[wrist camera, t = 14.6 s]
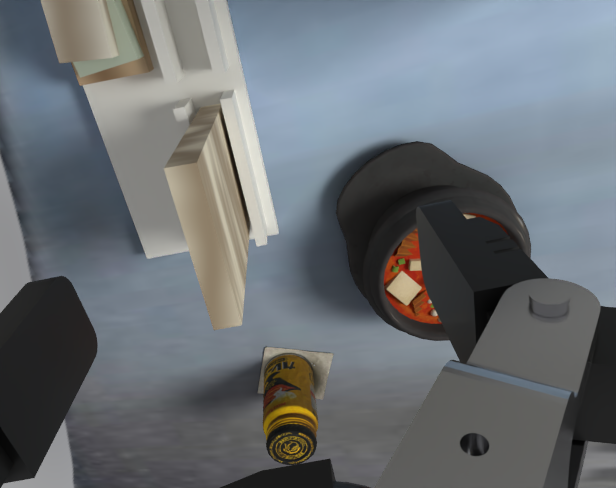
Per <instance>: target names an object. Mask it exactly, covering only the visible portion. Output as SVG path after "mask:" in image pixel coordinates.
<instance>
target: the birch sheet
mask: <svg viewBox="0 0 616 488" xmlns="http://www.w3.org/2000/svg"><path fill="white" fill-rule="evenodd" d="M164 171H165V174H166V178H167V181H168V184H169V187H170V191H171V194H172V197H173V200H174V203H175V207H176V210H177V213H178V216H179V220H180V223H181V226H182V229H183V232H184V236H185V239H186V242H187V245H188V248H189V252H190V255H191V258H192V261H193V265H194V268H195V271H196V274H197V277H198V281H199V284H200V287H201V290H202V294H203V297H204V300H205V303H206V306H207V310H208V313H209V316H210V319H211V323H212V326H213V329H214V330H217V329H223V328H229V327H234V326H240V325H242V317H243V305H244V293H245V281H246V269H247V257H248V245H249V233H250V217H249V214H248V210H247V206H246V202H245V198H244V194H243V190H242V186H241V182H240V178H239V174H238V170H237V166H236V162H235V158H234V154H233V150H232V146H231V142H230V138H229V134H228V130H227V126H226V122H225V119H224V115H223V111H222V107H221V103H220V104H215V105H209V106H204V107H201V108H200V109H199V111H198V112H197V114H196V116H195V117H194V119H193V121H192V122H191V124H190V126H189V127H188V129H187V131H186V132H185V134H184V136H183V137H182V139H181V141H180V142H179V144H178V146H177V147H176V149H175V151H174V152H173V154H172V155H171V157H170V159H169V160H168V162H167V164H166V165H165V167H164Z"/></svg>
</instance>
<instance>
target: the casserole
mask: <svg viewBox="0 0 616 488" xmlns="http://www.w3.org/2000/svg"><path fill="white" fill-rule="evenodd" d="M449 200H451V201H452V202H453V203H454V204H455V205H456V206H457V208H458V209H459V210H460V211H461V212H462V214H463V215H464V216H465V217H466V219H470V218H475V217H482V218H484V219H486V220H488V221H491V222H493V223H495V224H498V225H499V226H500V227H501V228H502V229H503V230H504V231H505V232H506V233H507V234H508V235H509V237H510V239H512V240H513V241H514V242H515V243H516V244H517V245H518V246H519V249H522V250H523V252H524V253H525V254H526V255H527V256H528V257H529V258H530V257H531V243H530V238H529V233H528V230H527V228H526V225H525V223H524V221H523V219H522V217H521V216H520V215H519V214H518V213H517V211H516V208H515V206H514V204H513V202H512V200H511V198H510V196H509V195H508V194H507V192H506V191H505V190H504V189H503V188H502V186H501V185H500V184H498V183H497V182H496V181H494V180H493V179H492V178H491V177H489V176H488V175H486V174H483V173H481V172H479V171H476V170H474V169H472V168H470V167H467V166H465V165H463V164H460V163H458V162H457V161H455V160H454V159H453V158H451V157H450V156H449V155H447V154H446V153H445V152H443V151H442V150H440V149H439V148H437V147H436V146H434V145H433V144H430V143H424V142H418V141H416V142H411V143H405V144H401V145H398V146H396V147H393V148H391V149H388V150H386V151H384V152H382V153H380V154H379V155H377V156H376V157H374V158H372V159H371V160H369V161H368V162H367V163H366V164H364V165H363V166H362V167H361V168H360V169H359V170H358V171H357V172H356V173H355V174H354V175H353V176H352V177H351V179H350V180H349V181H348V182H347V184H346V185H345V186H344V188H343V190H342V192H341V194H340V196H339V198H338V201H337V210H336V214H337V217H338V221H339V224H340V227H341V229H342V232H343V235H344V237H345V240H346V243H347V251H348V258H349V265H350V271H351V274H352V276H353V279H354V282H355V284H356V286H357V287H358V288H359V290H360V291H361V293H362V294H363V296H364V297H365V298H367V299H368V301H369V303H370V305H371V306H372V308H373V309H374V310H375V312H376V313H377V315H379V316H380V317H381V318H382V319H383V320H384V321H385V322H386V323H388V324H389V325H391V326H393V327H394V328H396V329H398V330H400V331H403V332H406V333H408V334H409V335H412V336H415V337H418V338H421V339H427V340H434V341H441V340H450V339H449V337H448V335H447V333H446V331H445V329H444V327H443V325H442V323H441V321H440V319H439V317H438V315H437V313H436V310H435V308H434V306H433V304H432V302H431V300H430V298H429V296H428V294H427V291H426V288H425V284H424V280H423V275H422V269H421V260H420V250H419V240H418V231H417V221H416V209H417V207H418V206H423V205H429V204H434V203H439V202H444V201H449Z"/></svg>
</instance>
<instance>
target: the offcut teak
mask: <svg viewBox="0 0 616 488" xmlns="http://www.w3.org/2000/svg"><path fill="white" fill-rule="evenodd" d="M121 1H122V4H123V6H124V9H125V11H126V13H127V16H128V18H129V21H130V23H131V25H132V28H133V30H134V33H135V35H136V38H137V40H138V42H139V45H140V47H141V50H142V52H143V54H144V57H142V58H140V59H137V60H134V61H131V62H128V63H125V64H122V65H118V66H115V67H112V68H109V69H106V70H103V71H100V72H97V73H94V74H90V75H87V76H84V77H81V78H80V76H79V74H78V72H77V70H76V68H75V66H74V64H73V62H71V64H72V66H73V69H74V72H75V74H76V77H77V80H78V82H79V85H80V86H82V85H87V84H92V83H97V82H102V81H107V80H112V79H117V78H122V77H127V76H132V75H137V74H142V73H148V72H150V71H152V70H153V69H154V68H153V64H152V61H151V58H150V54H149V51H148V48H147V44H146V41H145V38H144V35H143V31H142V28H141V25H140V21H139V18H138V15H137V12H136V8H135V5H134V2H133V0H121Z"/></svg>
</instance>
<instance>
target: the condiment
mask: <svg viewBox="0 0 616 488" xmlns="http://www.w3.org/2000/svg"><path fill="white" fill-rule="evenodd" d="M332 358H333V354H332V353H322V352H320V353H318V352H308V351H301V350H294V349H283V348H272V347H266V348H265V351H264V356H263V362H262V368H261V375H260V381H259V387H258V393H259V394H264V395H263V398H264V400H263V402H264V406H263V430H264V433H265V435H266V440H267V443H266V447H267V450H268V453H269V455H270V456H271V457H272V458H273V459H274V460H275V461H277V462H279V463H282V464H287V465H296V464H300V463H303V462H304V461H306V460H308V459H309V458H310V457H311V456H312V455H313V454H314V452H315V450H316V446H317V441H316V431H317V429H318V417H317V408H316V400H315V399H323V397H324V392H325V387H326V383H327V378H328V374H329V370H330V366H331V362H332ZM311 363H313V364H311ZM314 365H315V366H314Z"/></svg>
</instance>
